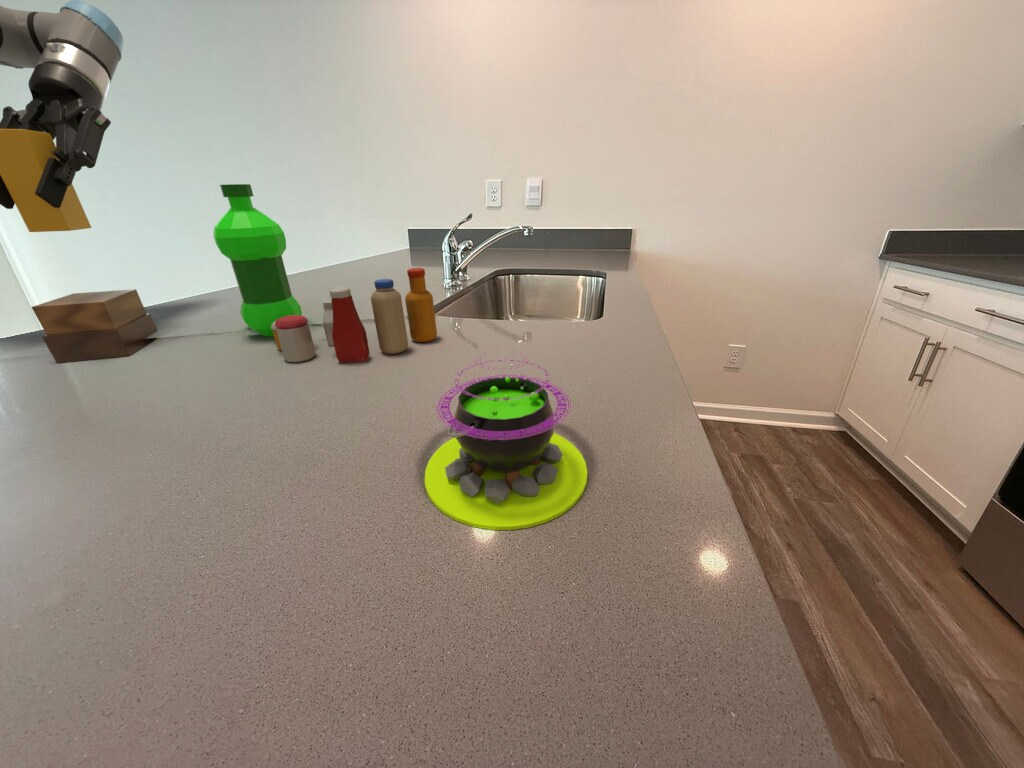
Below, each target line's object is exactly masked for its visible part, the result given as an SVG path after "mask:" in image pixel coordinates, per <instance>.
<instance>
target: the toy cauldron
mask: <svg viewBox="0 0 1024 768" xmlns="http://www.w3.org/2000/svg"><path fill="white" fill-rule="evenodd" d="M496 352H500V349H497V350H493V351H490V352H489V355H491V354H494V353H496ZM509 352H511V353H513V354H514V353H515V354H516V355H520V354H521V357H522V358H523V360H522V361H521V360H519V359H518V360H516V362H518V363H520V364H518V365H516V366H514V369H519V368H521V367H524V366H525V365H526V364H527V365H532V366H536V367H537V369H540V370H541V371H542V372H544V375H545V376H546V379H545V380H544V379H541V378H539V377H535V376H532V378H531V376H529V375H526V374H525V375H521V374H515V373H513V374H502V373H501V374H494V375H491V374H490V375H486V376H480V377H477V378H473V379H468V380H467V381H465V382H462V383H461V382H460V380H459V379H460V377H461V376H462V374H463V373H464V372H466V371H467V370H469V369H471V368H474V367H475V366H477V367H479V368H482V369H483V370H486V368H487V371H490V370H492V367H490V366H487V365H485V367H486V368H485V367H483V366H484V364H487V363H489V360H487V361H481V360H482V358H484V357H485V356H486V353H483V354H480V355H478V356H477V357H476V358H475V360H474V361H475V363H474V364H472V365H469V366H468V367H465V368H464V369H462V370H461V371H460V373H458V374H457V375H456V377H455V379H454V385H455V386H453V387H450V389H448V390H447V391H446V392H445V393H443V394H442V396H441V397H440V398H439V399H438V401H437V403H436V407H435V411H436V415H437V417H438V419H439V420H440V422H441V423H442V424H443V425H444V426H446V427H448V428H447V436H449V437H450V438H451V439H449V440H448V441H446V442H444V443H443V444H442V445H440V447H439V448H438V449H436V451H435V452H434V453H433V454H432V456H431V457H430V459H429V460H428V462H427V465H426V467H425V470H424V487H425V491H426V494H427V496H428V498H429V500H430V501H431V503H432V505H434V506H435V507H436V508H437V509H438V510H439V511H440V512H441V513H442V514H443V515H445V516H447V517H448V518H450V519H453V520H454V521H456V522H457V523H462V524H464V525H467V526H470V527H473V528H479V529H483V530H489V531H514V530H521V529H528V528H532V527H536V526H539V525H542V524H546V523H548V522H550V521H552V520H554V519H556V518H558V517H560V516H562V515H564V514H565V513H566V512H567V511H568V510H570V509H571V508H572V507H574V506H575V505H576V503H577V502H578V501H579V500H580V499H581V498H582V496H583V494H584V491H585V489H586V487H587V483H588V468H587V463H586V460H585V458H584V457H583V454H582V453H581V452H580V450H579V449H578V448H577V447H576V446H575V444H573V443H572V442H571V441H569V440H568V439H566V438H565V437H564V436H562V435H559V434H558V433H556V432H554V428H556V427H557V426H558V425H559V424H561V423H562V422H563V421H565V419H567V417H568V416H569V414H570V412H571V410H572V401H571V399H570V397H569V395H568V394H567V393H565V392H564V391H563V389H562V387H561V388H560V387H559V386H558V385H557V384H553V382H551V379H550V373H549V372H548V371H547V370H546V369H545V368H544V367H543V366H541V365H539V364H536V363H534V362H530V361H529V360H528V359H529V357H528V356H527V355H526V354H525V353H523V352H520V351H517V350H510V349H509ZM525 358H526V359H525ZM477 360H479V362H477ZM505 361H506V362H515V359H498V362H505ZM491 362H494V359H493V360H491ZM512 370H513V366H512V367H510V371H512ZM493 371H494V372H495V371H497V372H498V371H499V372H501V371H502V372H503V371H507V367H505V368H495V367H494V369H493ZM547 391H548V392H550V393H551V394H552V395H553V397H554V399H555V400H556V402H555V404H556V405H555V406H556V407H555V409H554V410H553V408H552V405H551V402H550V398H549V393H548V392H547ZM459 393H460V394H459ZM458 394H459V396H458V403H457V407H456V410H455V413H454V416H453V414H452V410H451V403H453V399H454V398H455V397H456V395H458ZM452 431H454V432H455V433H454V432H452Z"/></svg>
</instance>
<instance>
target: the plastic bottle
mask: <svg viewBox="0 0 1024 768" xmlns="http://www.w3.org/2000/svg"><path fill="white" fill-rule="evenodd" d="M219 187H220V190H221V193H222V197H223V198H227V200H228V204H229V207H230V208H229V209H228V210H227V211H226V212H225V214H224V215H223V216H222V217H221V218H220V219H219V221H218V222H217V223H216V225H215V226H214V227H213V239H214V242H215V245H216V247H217V248H218V250H219V253H220V254H222V255H223V256H225V257H226V258H228V259H229V260H230V264H231V268H232V270H233V273H234V277H235V279H236V282H237V283H236V284H237V286H238V290H239V292H240V295H241V298H242V302H241V305H240V315H241V319H242V320H243V322H244V323H245V324H246V326H248V328H249V329H251V330H252V331H254V332H256V333H257V334H259V335H262V336H263V337H270V338H271V337H274V335H273V331H272V329H271V325H272V323H273V322H275V321H276V320H278V319H279V318H281V317H284V316H290V315H301V316H303V315H302V314H303V311H302V307H301V305H300V304H299V302H298V300H297V299H296V298H295V297H294V296H293V294H292V291H291V287H290V282H289V279H288V276H287V275H288V274H287V271H286V267H285V264H284V260H283V254H284V253H285V251H286V250H287V239H286V235H285V231H284V230H283V229H282V227H281V226H280V224H278V223H277V222H276V221H275V220H273V219H272V218H270V217H269V216H267V215H266V214H265V213H263V212H261V211H260V210H258V209H257V208H255V207H254V206H253V201H252V198H251V197H254V193H253V189H252V185H251V183H244V184H243V183H240V184H239V183H237V184H232V183H231V184H219Z"/></svg>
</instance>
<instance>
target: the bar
mask: <svg viewBox="0 0 1024 768" xmlns="http://www.w3.org/2000/svg"><path fill="white" fill-rule="evenodd" d="M55 150H56V143H55V141H54V140H53V139H52V137H51V135H50V133H44V132H37V131H31V130H25V129H0V175H1V177H2V179H3V181H4V183H5V185H6V187H7V189H8V191H9V193H10V195H11V197H12V199H13V201H14V202H15V204H14V205H15V206H16V208H17V210H18V212H19V214H20V217H21V218H22V220H23V222H24V224H25V227H26V228H27V230H28V232H29V233H45V232H46V233H48V232H72V231H78V230H88V229H92V225H91V223H90V221H89V219H88V216H87V214H86V212H85V209H84V207H83V206H82V203H81V200H80V198H79V196H78V193H77V192H76V189H75V187H74V185H73V183H72V184H71V185H70V186H68V188H67V190H66V193H65V196H64V198H63V201H62V204H61V206H60V208H54V207H53V206H51V205H50V204H49V203H47V202H46V201H44V200H43V199H42V198H40V197H39V196H37V195H36V194H35V191H36V189H37V186H38V184H39V181H40V179H41V176H42V174H43V171H44V169H45V166H46V164H47V161H48V159H49V158H55V159H57V160H58V161H59V160H60V159H59V158H57V157H56V156H55V155H54V154H53V153H55V152H53V151H55ZM51 151H52V152H53V153H51Z"/></svg>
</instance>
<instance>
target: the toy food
mask: <svg viewBox="0 0 1024 768" xmlns="http://www.w3.org/2000/svg"><path fill="white" fill-rule="evenodd" d="M406 272H407V277H408V282H409V288H410V291H408V292H407V293H406V295H405V297H404V302H405V308H406V315H407V321H408V322H407V323H408V327H409V328H408V329H409V335H410V338H411V340H413V341H414V342H417V343H428V342H431V341H434V340H435V339H436V338H437V336H438V329H437V321H436V312H435V306H434V305H435V303H434V298H433V294H432V293H431V292H430V291H429V290H427V286H426V277H425V276H426V271H425V268H422V267H412V268H408V269H407V271H406ZM373 283H374V288H375V290H374V291H373V292H372V293H371V296H370V302H371V307H372V313H373V318H374V325H375V329H376V335H377V340H378V347H379V349H380V351H381V352H382V353H384V354H387V355H396V354H397V355H398V354H400V353H403V352H405V351H406V350H407V349H408V347H409V340H408V333H407V327H406V320H405V314H404V307H403V301H402V295H401V293H400V291H398V290H397V289H395V288H394V286H395V284H394V280H393V279H391V278H380V279H376V280H374V281H373ZM329 294H330V296H329V297H330V298H331V300H325V301H323V302H322V305H323V317H322V326H323V330H324V335H325V338H326V342H327V345H328V346H330V347H331V346H332V347H334V352H335V355H336V359H337V361H338V362H339V363H343V364H346V363H347V364H348V363H349V364H350V363H351V364H352V363H364V362H366V361H367V360H368V359H369V357H370V348H369V341H368V336H367V331H366V328H365V326H364V324H363V322H362V320H361V317H360V316H359V313H358V311H357V309H356V306H355V302H354V299H353V296H352V293H351V288H350V287H346V286H344V287H343V286H341V287H334V288H331V289H329ZM308 322H309V320H308V319H307V318H306V317H305V316H304V315H290V316H284V317H281V318H279V319H278V320H276V321H275V322H273V323H272V325H271V329H272V331H273V335H274V336H273V338H274V341H275V345H276V348H277V349H278V351H281V352H282V355H283V358H284V360H285V362H288V363H301V362H305V361H309V360H311V359H313V358H314V357H315V356H316V354H317V353H316V349H315V344H314V341H313V337H312V333H311V328H310V325H309V323H308Z"/></svg>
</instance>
